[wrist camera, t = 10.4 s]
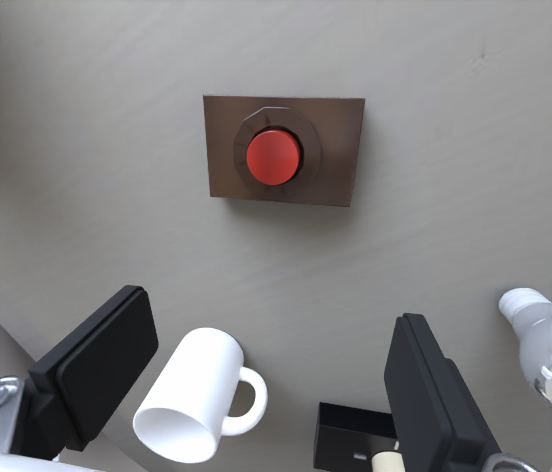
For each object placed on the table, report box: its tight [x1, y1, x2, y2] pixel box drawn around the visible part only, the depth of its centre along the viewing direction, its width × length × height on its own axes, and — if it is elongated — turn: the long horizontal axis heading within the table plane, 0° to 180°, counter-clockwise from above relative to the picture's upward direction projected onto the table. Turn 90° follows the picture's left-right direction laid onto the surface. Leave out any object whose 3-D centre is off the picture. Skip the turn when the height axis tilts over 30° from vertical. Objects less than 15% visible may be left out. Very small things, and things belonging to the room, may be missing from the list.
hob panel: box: [313, 402, 401, 472], centre depth 35 cm, size 14×9×3 cm, turn 88°
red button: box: [247, 130, 300, 185], centre depth 20 cm, size 4×4×2 cm
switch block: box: [203, 95, 365, 207], centre depth 22 cm, size 12×8×4 cm, turn 88°
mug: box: [133, 328, 268, 463], centre depth 30 cm, size 12×8×10 cm
